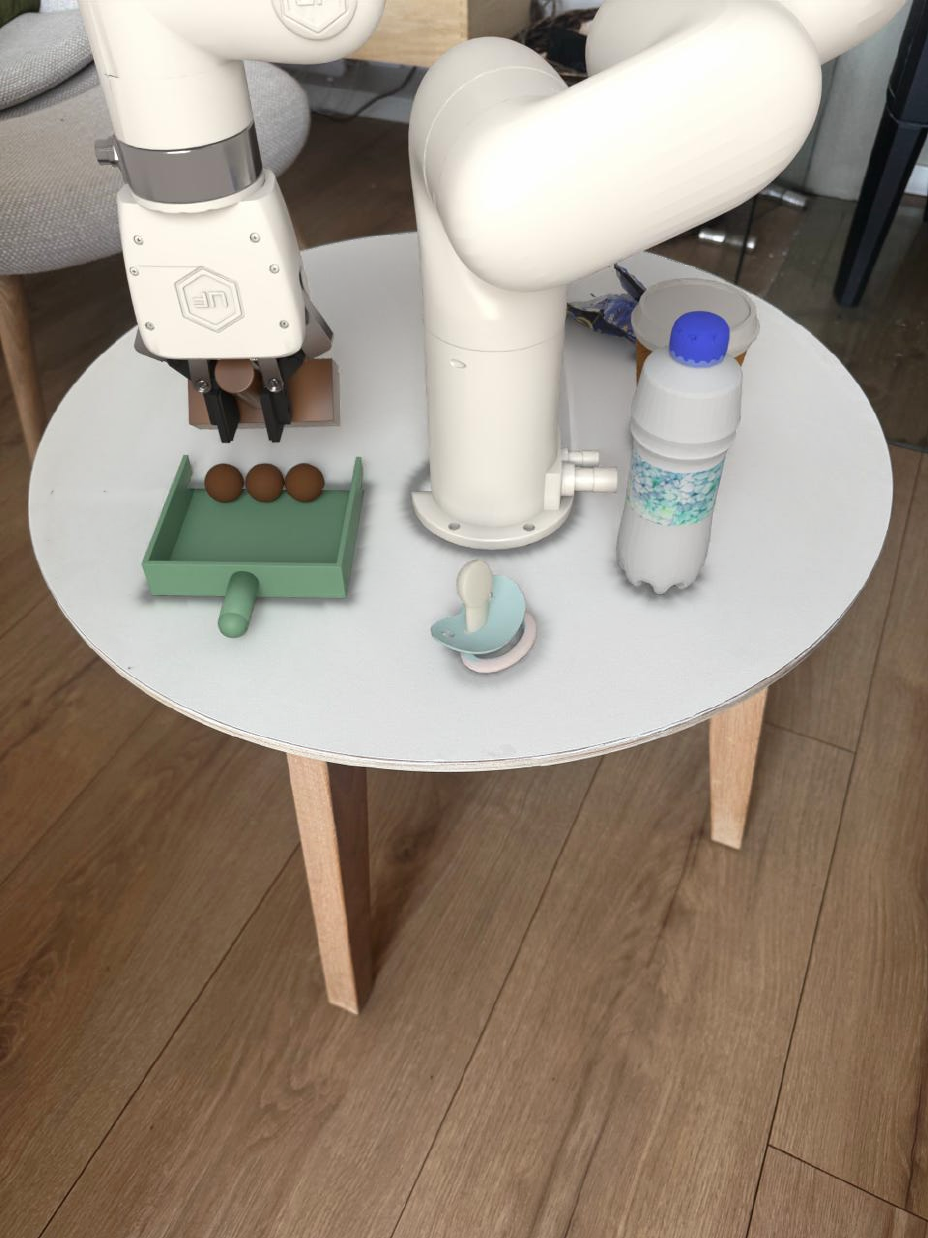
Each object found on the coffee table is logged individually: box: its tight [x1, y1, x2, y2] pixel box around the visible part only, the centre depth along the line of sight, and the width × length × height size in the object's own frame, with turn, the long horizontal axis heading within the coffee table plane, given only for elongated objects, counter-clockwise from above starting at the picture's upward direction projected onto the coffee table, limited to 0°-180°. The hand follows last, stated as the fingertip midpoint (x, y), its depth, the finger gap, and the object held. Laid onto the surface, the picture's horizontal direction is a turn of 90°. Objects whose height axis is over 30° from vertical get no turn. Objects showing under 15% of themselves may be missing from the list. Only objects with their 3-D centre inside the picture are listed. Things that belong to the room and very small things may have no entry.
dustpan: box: [141, 454, 365, 639], centre depth 71 cm, size 17×14×3 cm
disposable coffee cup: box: [631, 277, 761, 387], centre depth 78 cm, size 10×10×12 cm
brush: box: [187, 357, 342, 431], centre depth 69 cm, size 10×4×10 cm
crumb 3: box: [284, 462, 325, 503], centre depth 76 cm, size 3×3×3 cm
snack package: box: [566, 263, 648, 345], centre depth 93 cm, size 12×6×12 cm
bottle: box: [615, 311, 744, 595], centre depth 64 cm, size 7×7×20 cm
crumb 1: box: [203, 462, 245, 503], centre depth 76 cm, size 3×3×3 cm
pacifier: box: [430, 559, 538, 674], centre depth 64 cm, size 7×6×6 cm
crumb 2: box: [244, 462, 285, 502], centre depth 76 cm, size 3×3×3 cm
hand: (254, 429), depth 69 cm, fingers closed on brush, 2 cm apart
